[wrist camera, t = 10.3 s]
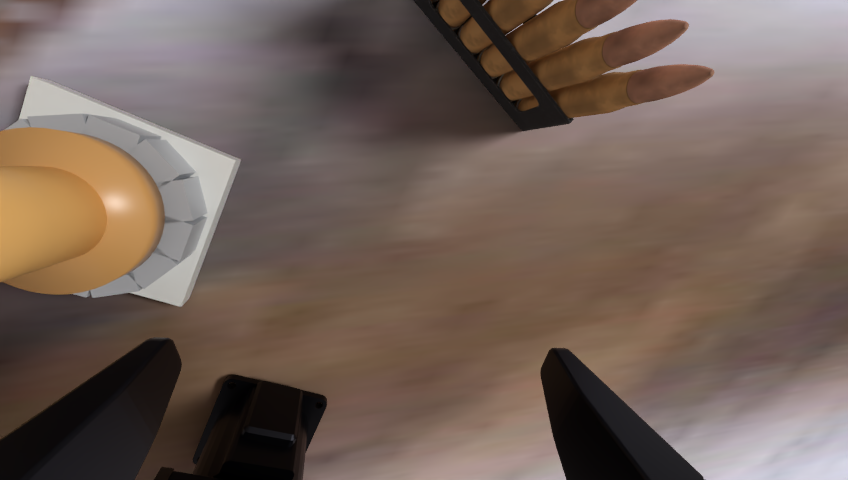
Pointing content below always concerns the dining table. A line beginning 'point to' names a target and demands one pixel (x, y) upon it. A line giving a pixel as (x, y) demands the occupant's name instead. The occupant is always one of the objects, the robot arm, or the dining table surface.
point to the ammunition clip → (560, 56)
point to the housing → (170, 169)
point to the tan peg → (73, 211)
